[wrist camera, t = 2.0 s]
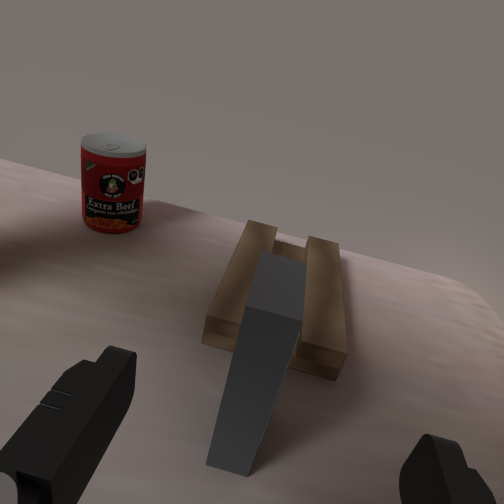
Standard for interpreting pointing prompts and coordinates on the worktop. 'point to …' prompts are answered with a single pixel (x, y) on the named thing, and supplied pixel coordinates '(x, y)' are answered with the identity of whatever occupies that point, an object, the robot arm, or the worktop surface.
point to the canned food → (112, 181)
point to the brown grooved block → (315, 304)
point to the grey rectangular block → (259, 361)
